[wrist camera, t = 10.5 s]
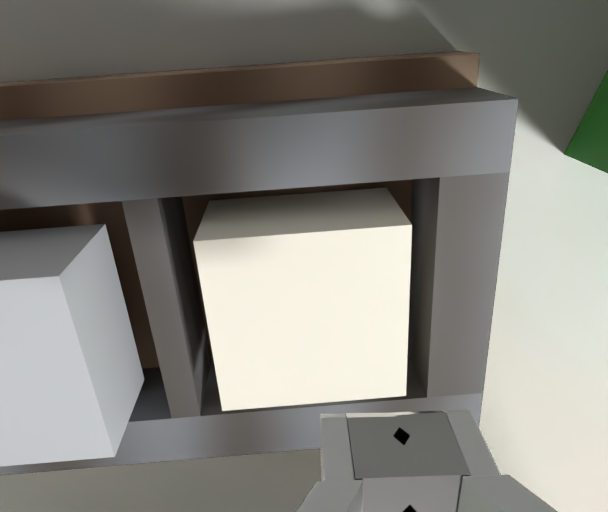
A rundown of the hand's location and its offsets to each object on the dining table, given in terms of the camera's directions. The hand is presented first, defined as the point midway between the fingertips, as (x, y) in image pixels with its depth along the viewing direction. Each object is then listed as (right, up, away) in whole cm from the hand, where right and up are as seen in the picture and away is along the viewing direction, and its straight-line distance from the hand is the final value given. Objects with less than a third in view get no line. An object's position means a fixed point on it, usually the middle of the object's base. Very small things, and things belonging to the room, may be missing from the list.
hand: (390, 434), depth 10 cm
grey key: (-11, +2, +6) cm, 12 cm away
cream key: (-2, +3, +8) cm, 9 cm away
